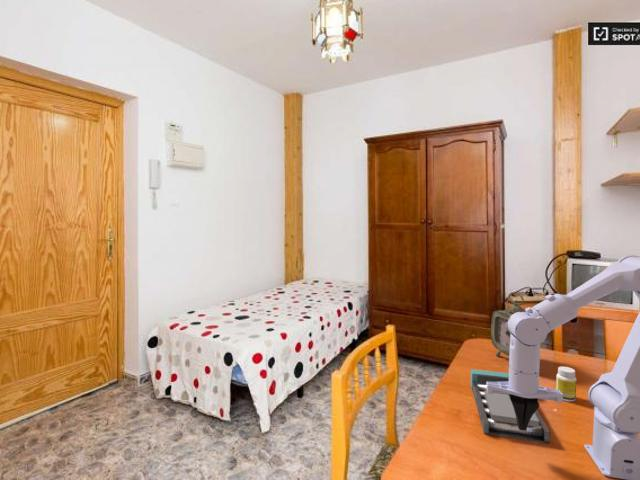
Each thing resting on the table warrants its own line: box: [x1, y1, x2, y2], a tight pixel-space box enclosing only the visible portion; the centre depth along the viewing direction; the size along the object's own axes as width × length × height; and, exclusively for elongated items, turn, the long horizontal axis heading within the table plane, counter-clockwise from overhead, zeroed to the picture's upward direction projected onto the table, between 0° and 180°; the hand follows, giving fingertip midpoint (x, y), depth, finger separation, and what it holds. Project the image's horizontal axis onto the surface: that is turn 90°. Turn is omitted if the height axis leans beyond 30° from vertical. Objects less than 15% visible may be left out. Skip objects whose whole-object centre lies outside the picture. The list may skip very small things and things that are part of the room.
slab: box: [484, 391, 539, 427], centre depth 89 cm, size 12×10×1 cm
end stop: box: [470, 368, 509, 389], centre depth 105 cm, size 4×14×5 cm, turn 73°
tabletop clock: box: [490, 291, 525, 357], centre depth 124 cm, size 14×9×25 cm, turn 10°
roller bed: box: [471, 381, 551, 444], centre depth 93 cm, size 22×14×3 cm, turn 163°
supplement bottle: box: [555, 366, 577, 402], centre depth 100 cm, size 5×5×8 cm
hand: (521, 427), depth 78 cm, fingers closed
